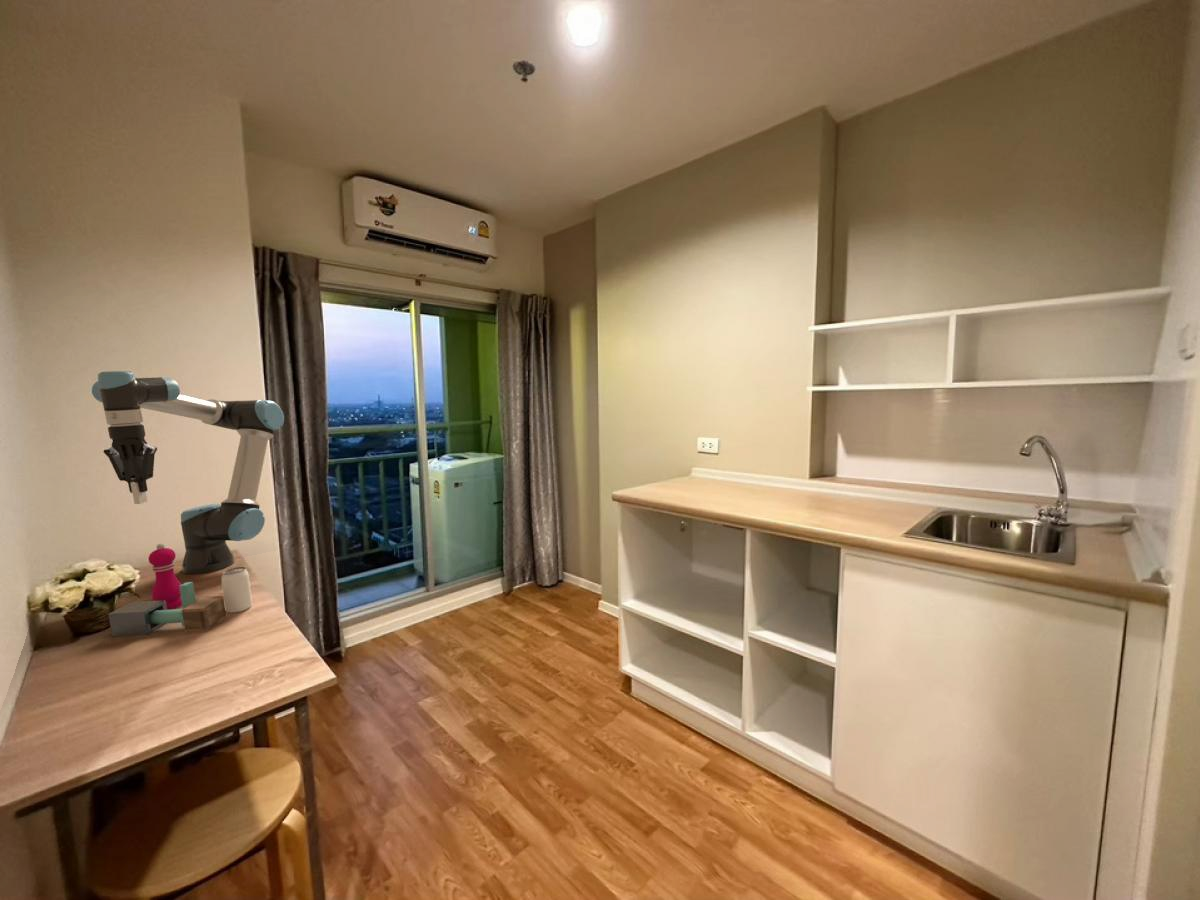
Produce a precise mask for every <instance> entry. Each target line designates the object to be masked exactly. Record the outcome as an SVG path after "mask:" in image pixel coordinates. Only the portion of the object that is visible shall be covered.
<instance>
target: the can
mask: <svg viewBox="0 0 1200 900" xmlns="http://www.w3.org/2000/svg"><path fill="white" fill-rule="evenodd" d="M221 574H222V576H221V578H220V581H221V588H222V596H223V597H224V604H225V611H226V612H227V613H228V614H234V613H235V614H236V612H237V613H240V612H244V611H246V610H248V609H250V608H251V607H252V606H253V597H252V591H251V590H252V588H251V585H250V584H251V583H250V575H249V572H248V570H247V568H246V566H237V567H232V568H228V569H226V570H223V571H222V573H221Z"/></svg>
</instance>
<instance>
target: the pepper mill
mask: <svg viewBox="0 0 1200 900" xmlns="http://www.w3.org/2000/svg"><path fill="white" fill-rule="evenodd" d="M176 555H177V554H176V552H175V551H174V549H172V548H167V547H165V545H164V543H158V544H157V545H156V549H154V550H153V551H152V552H150V553H149V555H148V563H149V564H150V565H152V572H154V573H155V583H154V586H153V588H152V593H151V598H152V601H160V600H166V606H167V610H172V609H178V608H180V607H181V606H182V600H181V594H180V587H179V586H180V585H182V584H183V583H182V582H181V581H180V580H178V578H177V576H176V574H175V571H174V569H175V567H176V565H175V564H176V563H175V562H174V560H175V559H176Z"/></svg>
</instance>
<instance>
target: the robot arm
mask: <svg viewBox="0 0 1200 900" xmlns="http://www.w3.org/2000/svg"><path fill="white" fill-rule="evenodd" d="M91 394H92V396H93V398H95V400H97V401H98V402H99V403H102V406H103V410H104V415H105V420H106V425H108V427H107V431H108V435H109V439H110V440H112V442H111V446H110V447H109V448H108V449H104V450H103V453H104V454H105V455H106V456H107V457H108V459H109V461H110V463H111V465H112V468H113V469H114V472H115V474H116V476H117V478H118V480H119V481H120V482H122V481H123V482H126V483H127V484H128V489H129V492H130V494H132V497H133V502H134V505H141V504H144V503H147V502H148V497H147V496H148V495H147V491H148V483H147V480H149V479H151V478H153V477H154V469H155V468H154V466H155V454H156V452H157V451H158V447H157V446H151V445H149V444H148V442H147V441H146V439H145V436H146V431H145V425H143V424H141V423H144V419H143V414H142V410H141V409H145V410H151V411H155V412H159V413H165V414H170V415H175V416H179V417H183V418H189V419H194V420H198V421H201V422H202V423H204V424H205V425H210V426H214V427H218V428H224V429H228V430H232V431H236V432H237V434H238V435H239V436H240V439H239V442H238V446H237V447H238V448H237V452H236V457H235V462H234V467H233V471H232V476H231V480H230V481H231V482H230V486H229V490H228V493H227V498H225V500H223V501H221V502H220V503H212V504H207V505H206V504H205V505H201V506H196V507H192V508H190V509H186V510H184V511H182V512H181V514H180V525H181V532H182V536H183V543H184V548H185V553H184V556H183V559H182V565H181V569H182V573H183V574H184V575H185V574H186V575H199V574H207V573H210V572H214V571H218V570H222V569H224V568H227V567H230V566H232V565H233V564H234V563H235V556H234V554H233V553H232V551H231V549H230V548H229V546H228V544H227V541H231V542H232V541H234V542H241V541H249V540H252V539H254V538H256V536H258V535H260V533H261V532H262V530H263V528H264V526H265V522H266V518H265V516H264V513H263V511H262V510H261V509H260V506H261V505H260V504H259V503H258V501H257V496H258V492H259V487H260V482H261V481H260V480H261V477H262V471H263V466H264V462H265V456H266V450H267V447H268V441H269V440H271V439H272V438H274V435H275V431H277V430H279V429H281V428H282V427H283V426H284V422H285V415H284V412H283V410H282V408H281V407H280V405H279V404H277V402H275V401H273V400H269V399H268V400H267V399H265V400H264V399H257V400H255V399H253V400H217V399H212V398H211V399H202V398H199V397H195V396H190V395H186V394H181V390H180V385H179V383H178V382H177V381H176V380H175V379H173V378H170V377H162V376H160V377H135V374H134V372H133V371H128V370H127V371H126V370H125V371H124V370H121V371H119V370H118V371H117V370H114V371H113V370H112V371H110V370H109V371H100V372H99V373H98V375H97V381H95V382H94V383H93V384H92V387H91Z"/></svg>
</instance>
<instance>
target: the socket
mask: <svg viewBox="0 0 1200 900" xmlns="http://www.w3.org/2000/svg"><path fill="white" fill-rule="evenodd" d="M181 609H182V615H183V621H184V626H183V627H184V633H185V634H193V633H196V634H197V633H207V632H208V631H210V630H212V629H213V628H214V626H215V627H216V626H217V625H219V624H220V623H222V622H224V621H225V620H226V619H227V613H226V612H227V611H226V608H225V602H224V595H219V596H218V595H217V596H216V595H214V596H203V597H201V598H199V599H196V602H194V603H192V604H190V605H189V606H187V607H185V608H183V607H182V608H181ZM221 621H222V622H221Z"/></svg>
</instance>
